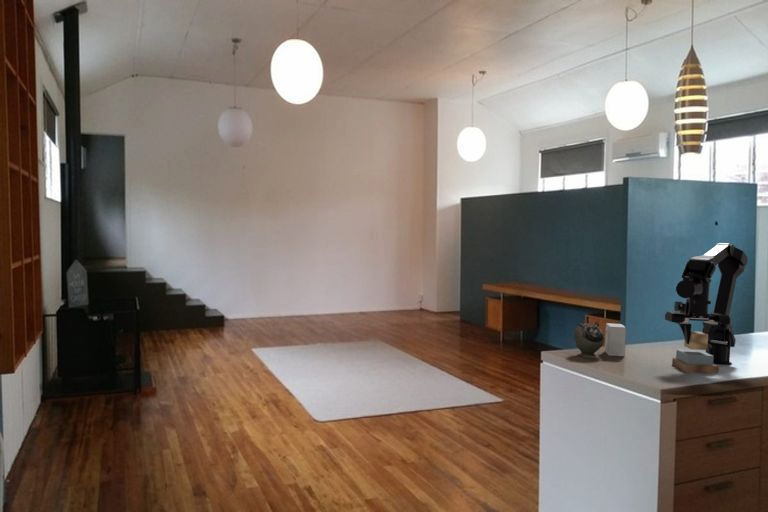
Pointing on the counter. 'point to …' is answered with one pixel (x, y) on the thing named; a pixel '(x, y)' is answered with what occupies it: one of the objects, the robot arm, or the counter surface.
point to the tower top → (694, 357)
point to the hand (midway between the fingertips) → (695, 344)
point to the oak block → (697, 341)
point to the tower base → (695, 367)
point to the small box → (615, 339)
